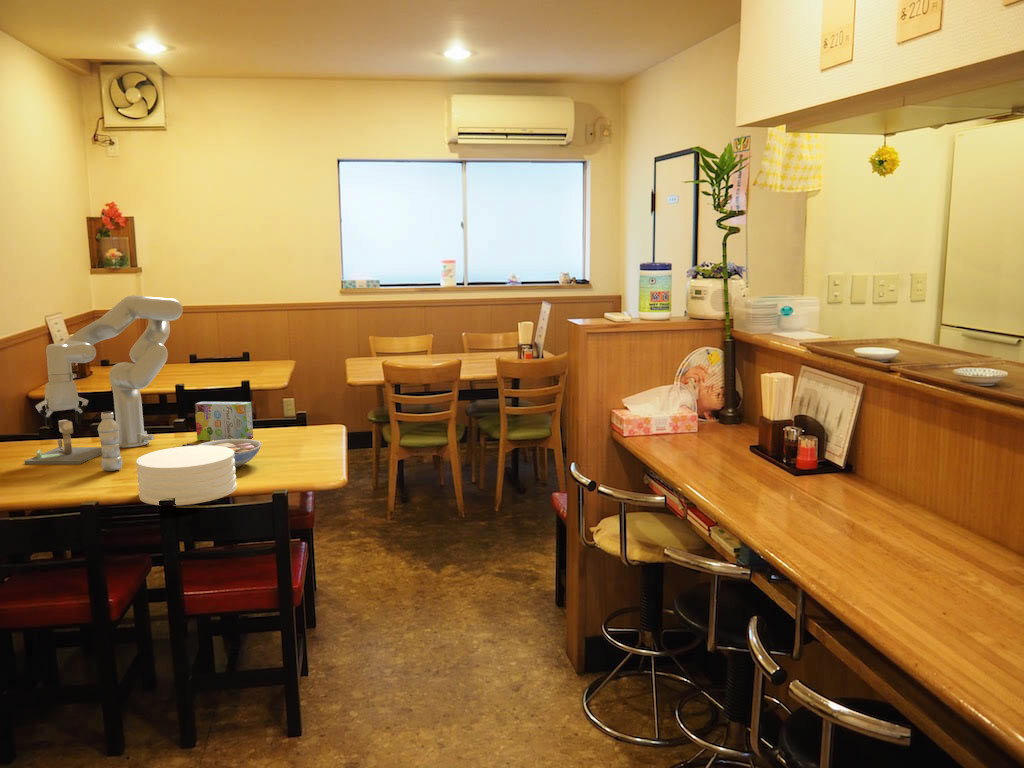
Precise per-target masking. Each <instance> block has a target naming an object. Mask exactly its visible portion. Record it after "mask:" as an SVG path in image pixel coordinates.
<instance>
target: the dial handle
mask: <svg viewBox="0 0 1024 768" xmlns="http://www.w3.org/2000/svg"><path fill="white" fill-rule="evenodd" d="M58 428H59V429H58V430H59V432H60V433H62V438H63V439H61V438H59V439H57V443H58V447H59V450H62V451H64V452H65V454H71V453H72V447H73V445H72V437H71V434H74V426H73V421H71V420H69V419H62V420H58ZM62 447H64V448H62Z"/></svg>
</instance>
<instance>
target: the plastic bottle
mask: <svg viewBox="0 0 1024 768" xmlns="http://www.w3.org/2000/svg"><path fill="white" fill-rule="evenodd" d="M100 414H101V415H100V419H101V421H100V422H99V424H98V426H97V432H98V437H99V439H100V440H99V441H100V445H101V447H102V455H101V459H100V464H101V465H100V466H101V469H102V470H103V471H105V472H114V471H118V470H121V469H122V467H123V462H124V461H123V459H122V456H121V450H120V449H121V448H120V447H119V426H118V424H117V423H116V420H114V417H115V415H114V412H113V411H104V412H101V413H100Z"/></svg>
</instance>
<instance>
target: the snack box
mask: <svg viewBox="0 0 1024 768" xmlns="http://www.w3.org/2000/svg"><path fill="white" fill-rule="evenodd" d="M252 409H253V408H252V401H199V402H197V403H194V413H195V426H196V427H195V428H196V429H195V430H196V440H214V441H216V440H225V439H252V438H253V439H254V428H253V410H252Z"/></svg>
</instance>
